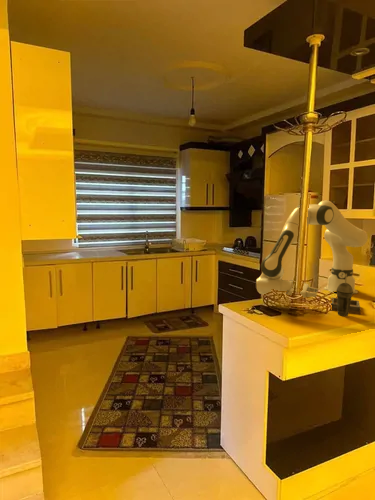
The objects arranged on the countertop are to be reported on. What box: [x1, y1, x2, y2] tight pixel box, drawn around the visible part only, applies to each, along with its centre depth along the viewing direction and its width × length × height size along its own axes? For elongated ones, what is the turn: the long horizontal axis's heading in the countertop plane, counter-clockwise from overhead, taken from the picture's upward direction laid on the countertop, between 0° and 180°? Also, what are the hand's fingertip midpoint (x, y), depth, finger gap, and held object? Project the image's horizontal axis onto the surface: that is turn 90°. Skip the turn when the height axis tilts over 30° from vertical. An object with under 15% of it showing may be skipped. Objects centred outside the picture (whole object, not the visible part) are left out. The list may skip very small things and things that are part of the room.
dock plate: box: [331, 297, 362, 315], centre depth 179 cm, size 14×14×3 cm
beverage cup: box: [336, 274, 354, 317], centre depth 168 cm, size 7×7×20 cm
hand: (317, 292), depth 172 cm, fingers open, 8 cm apart
